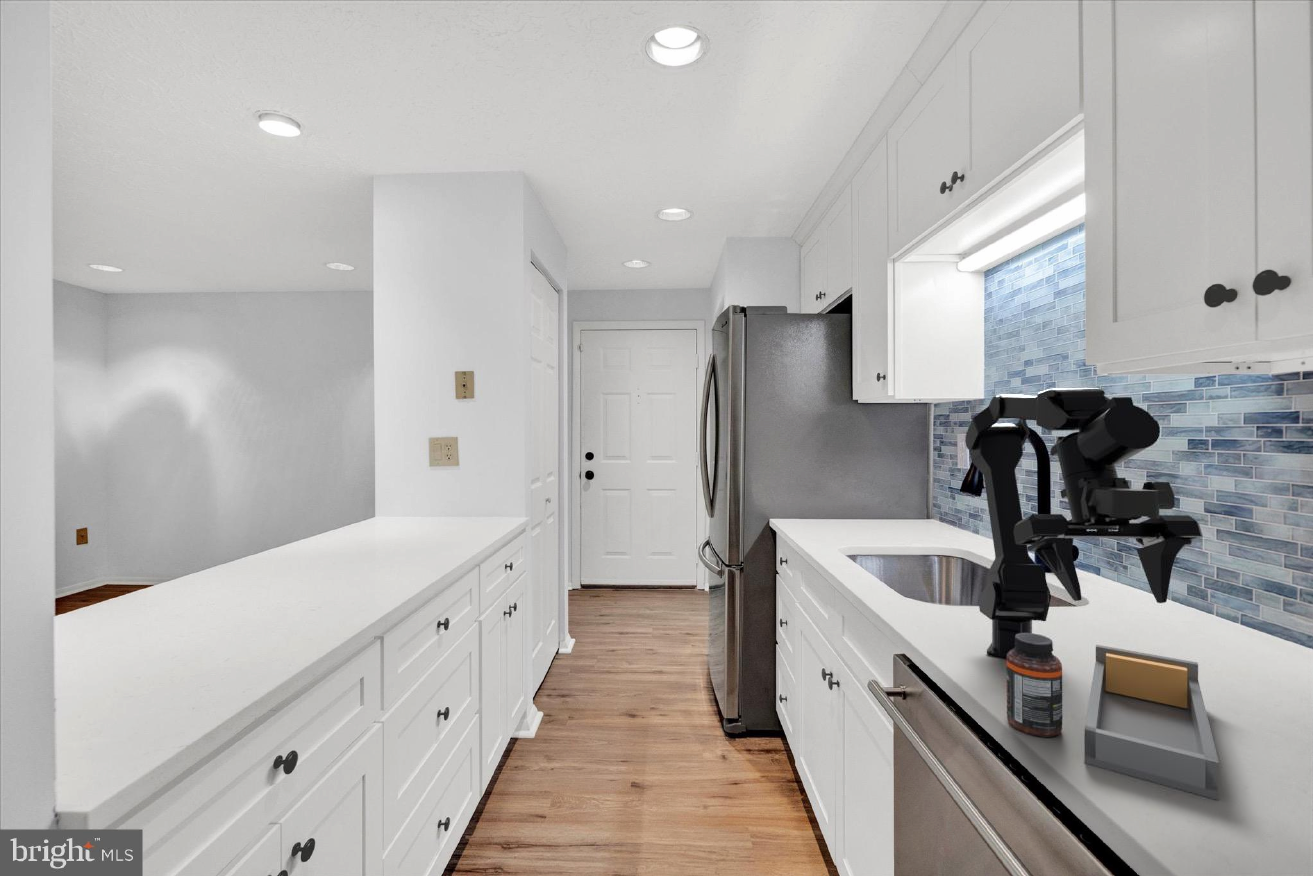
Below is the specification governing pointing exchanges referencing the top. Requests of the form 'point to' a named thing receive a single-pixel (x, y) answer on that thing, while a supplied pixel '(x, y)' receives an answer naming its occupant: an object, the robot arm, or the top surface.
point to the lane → (1151, 732)
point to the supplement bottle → (1034, 686)
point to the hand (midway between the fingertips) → (1119, 601)
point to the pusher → (1146, 680)
